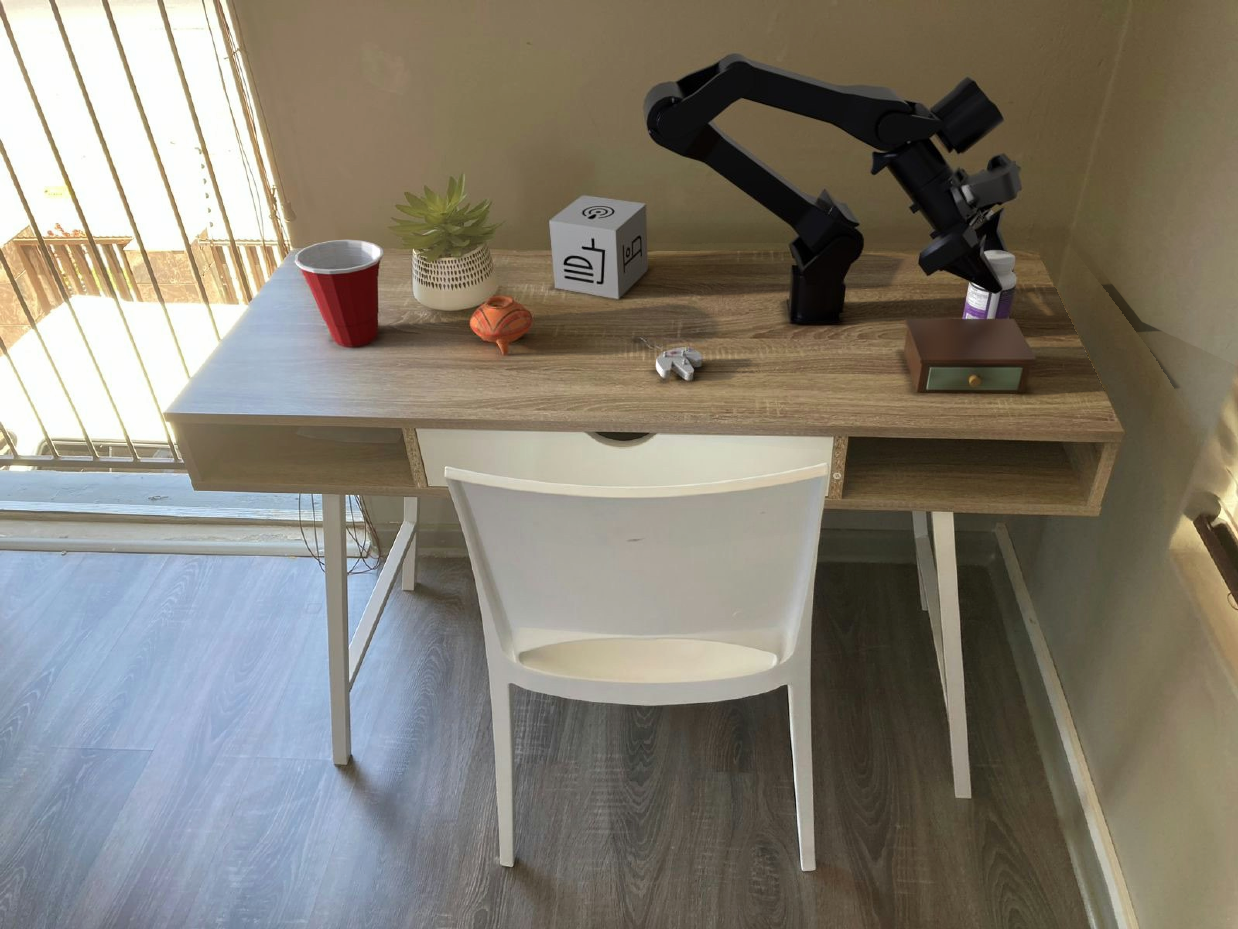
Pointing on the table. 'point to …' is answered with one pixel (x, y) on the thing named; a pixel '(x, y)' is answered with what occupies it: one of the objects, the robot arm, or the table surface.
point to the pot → (501, 321)
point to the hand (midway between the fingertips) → (1004, 282)
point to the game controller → (678, 362)
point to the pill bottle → (986, 302)
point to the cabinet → (967, 355)
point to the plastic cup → (344, 287)
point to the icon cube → (599, 246)
